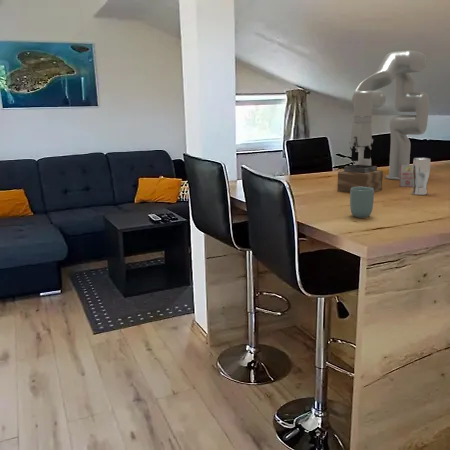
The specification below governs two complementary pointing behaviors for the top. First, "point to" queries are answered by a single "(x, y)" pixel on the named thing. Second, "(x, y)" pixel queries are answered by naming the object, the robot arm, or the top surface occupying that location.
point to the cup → (361, 201)
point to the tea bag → (406, 176)
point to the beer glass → (420, 175)
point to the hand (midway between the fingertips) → (360, 159)
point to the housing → (360, 177)
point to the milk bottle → (362, 158)
